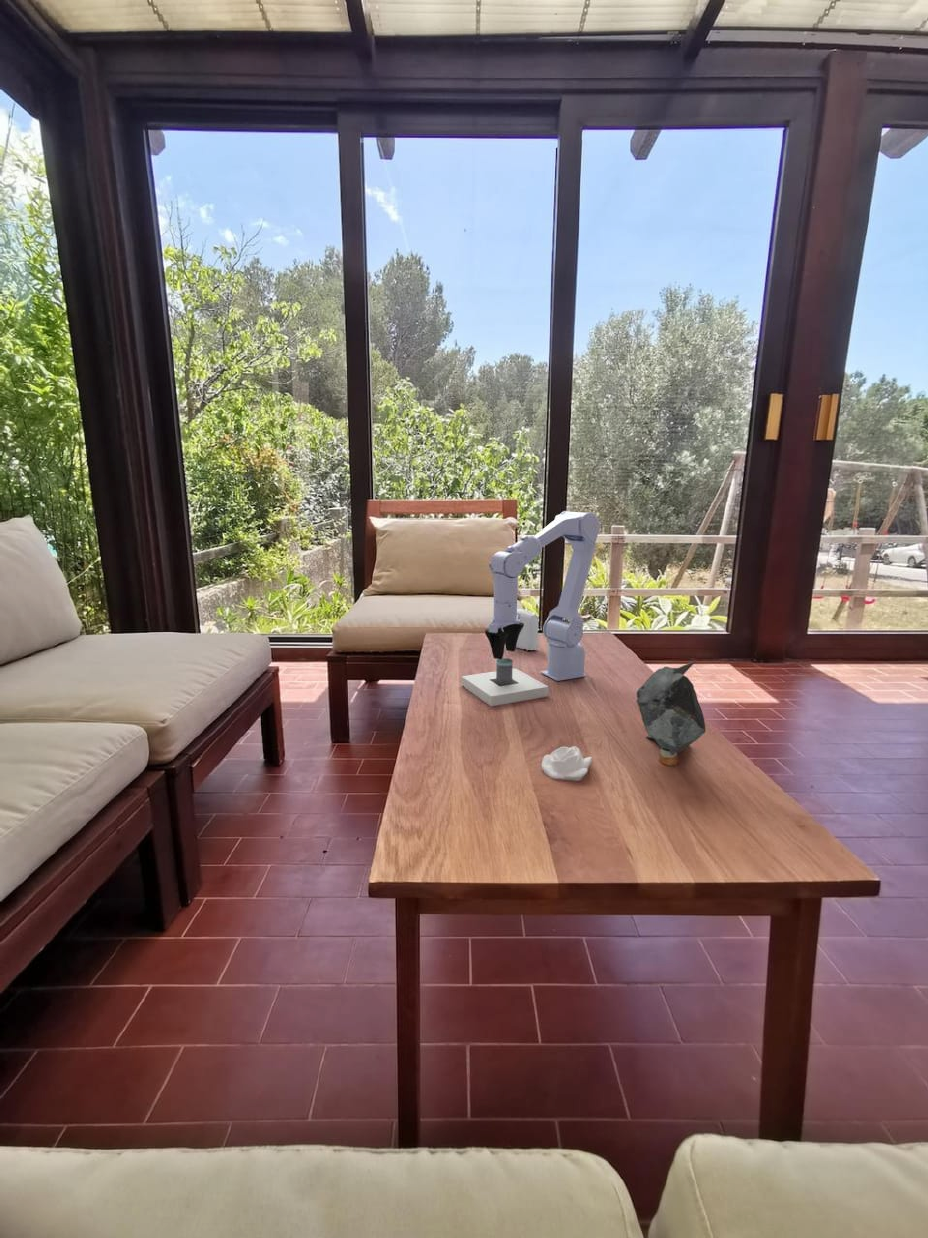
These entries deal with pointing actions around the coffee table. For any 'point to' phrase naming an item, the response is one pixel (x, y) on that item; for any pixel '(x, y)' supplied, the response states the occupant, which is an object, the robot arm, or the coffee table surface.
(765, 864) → the coffee table surface
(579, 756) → the rose
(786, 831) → the coffee table surface
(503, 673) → the peg
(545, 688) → the socket block
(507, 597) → the robot arm
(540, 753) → the coffee table surface
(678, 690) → the grey rock on stand
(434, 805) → the coffee table surface
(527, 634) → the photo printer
